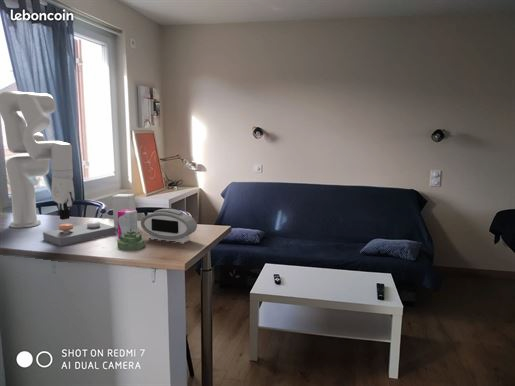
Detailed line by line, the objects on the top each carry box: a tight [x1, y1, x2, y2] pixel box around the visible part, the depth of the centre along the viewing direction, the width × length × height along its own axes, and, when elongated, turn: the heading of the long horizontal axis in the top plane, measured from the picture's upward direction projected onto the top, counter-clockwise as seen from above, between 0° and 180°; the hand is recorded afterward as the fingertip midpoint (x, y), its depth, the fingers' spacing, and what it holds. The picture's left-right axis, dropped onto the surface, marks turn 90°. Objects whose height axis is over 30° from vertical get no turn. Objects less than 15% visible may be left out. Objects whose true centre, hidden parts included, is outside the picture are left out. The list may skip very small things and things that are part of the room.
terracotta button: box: [58, 223, 74, 234], centre depth 167 cm, size 5×5×5 cm
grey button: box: [86, 220, 101, 229], centre depth 177 cm, size 5×5×5 cm
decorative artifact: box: [116, 229, 146, 251], centre depth 159 cm, size 10×7×10 cm
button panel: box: [42, 222, 117, 247], centre depth 172 cm, size 14×24×3 cm, turn 142°
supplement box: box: [117, 210, 139, 240], centre depth 171 cm, size 6×6×12 cm
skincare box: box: [111, 193, 136, 231], centre depth 185 cm, size 8×7×16 cm
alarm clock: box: [140, 208, 198, 244], centre depth 169 cm, size 23×6×13 cm, turn 68°
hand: (64, 218), depth 167 cm, fingers closed
